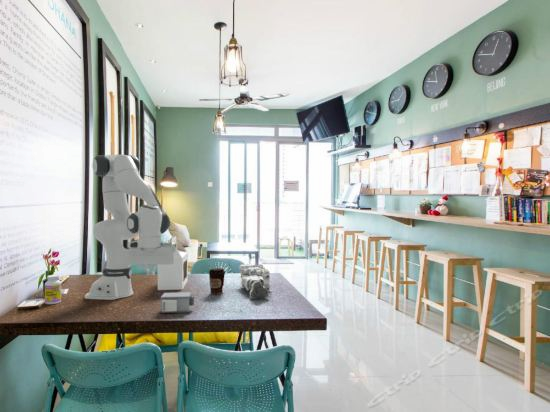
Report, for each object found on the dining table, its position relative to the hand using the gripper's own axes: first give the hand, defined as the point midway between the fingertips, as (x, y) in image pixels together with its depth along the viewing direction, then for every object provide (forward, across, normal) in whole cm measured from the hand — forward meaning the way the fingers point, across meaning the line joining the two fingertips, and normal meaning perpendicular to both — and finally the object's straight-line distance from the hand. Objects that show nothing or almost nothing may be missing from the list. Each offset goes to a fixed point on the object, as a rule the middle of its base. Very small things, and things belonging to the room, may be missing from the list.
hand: (150, 275), depth 154 cm
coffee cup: (+17, -26, -34) cm, 46 cm away
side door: (+16, -8, 0) cm, 18 cm away
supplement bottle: (+16, +50, -22) cm, 57 cm away
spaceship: (+17, -47, -36) cm, 61 cm away
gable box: (+17, 0, -54) cm, 56 cm away
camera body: (+17, -10, -6) cm, 20 cm away
